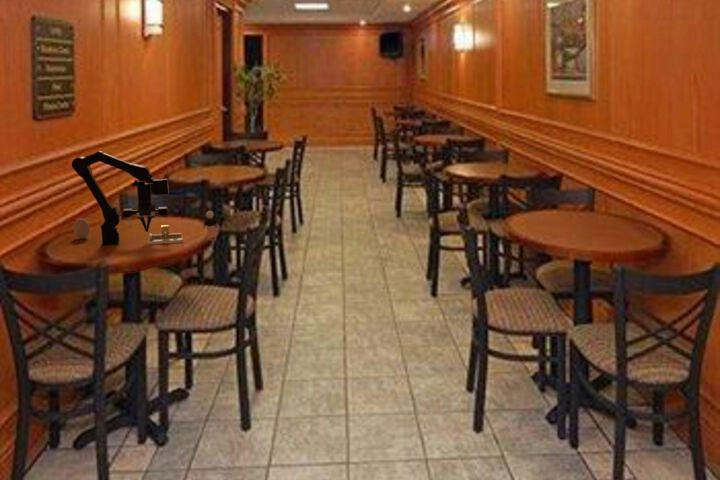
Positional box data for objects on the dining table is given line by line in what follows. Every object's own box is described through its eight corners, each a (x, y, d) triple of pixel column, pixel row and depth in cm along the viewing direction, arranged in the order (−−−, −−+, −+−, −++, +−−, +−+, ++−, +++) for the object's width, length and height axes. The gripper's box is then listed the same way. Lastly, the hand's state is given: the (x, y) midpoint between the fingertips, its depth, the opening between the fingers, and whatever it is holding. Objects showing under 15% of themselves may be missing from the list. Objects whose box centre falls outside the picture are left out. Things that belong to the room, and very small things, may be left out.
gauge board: (148, 244, 324) (148, 236, 324) (149, 239, 334) (148, 232, 333) (182, 242, 328) (182, 234, 327) (182, 237, 337) (181, 230, 336)
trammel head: (162, 238, 326) (161, 228, 325) (162, 235, 332) (161, 225, 331) (169, 238, 327) (168, 227, 326) (169, 235, 333) (168, 224, 332)
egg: (93, 237, 339) (91, 217, 337) (83, 240, 333) (81, 220, 331) (81, 236, 341) (80, 216, 339) (71, 239, 335) (69, 219, 333)
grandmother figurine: (214, 237, 336) (213, 209, 334) (220, 238, 334) (219, 210, 331) (201, 240, 331) (199, 211, 328) (207, 241, 328) (205, 212, 325)
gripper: (120, 200, 316) (123, 236, 319) (167, 197, 320) (169, 234, 323) (121, 195, 326) (124, 231, 330) (166, 193, 331) (169, 229, 334)
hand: (146, 231), depth 329 cm, fingers closed
